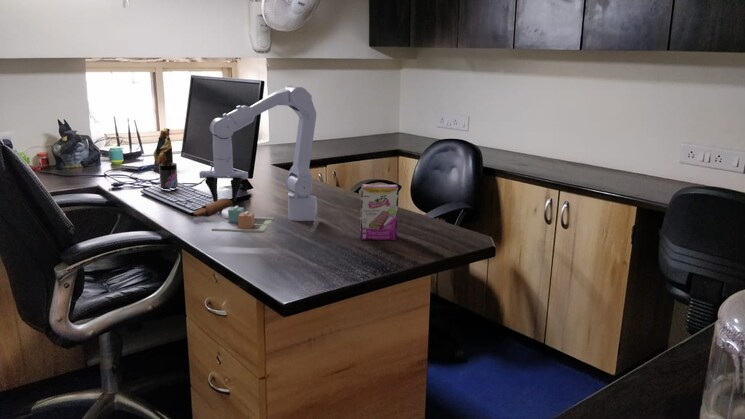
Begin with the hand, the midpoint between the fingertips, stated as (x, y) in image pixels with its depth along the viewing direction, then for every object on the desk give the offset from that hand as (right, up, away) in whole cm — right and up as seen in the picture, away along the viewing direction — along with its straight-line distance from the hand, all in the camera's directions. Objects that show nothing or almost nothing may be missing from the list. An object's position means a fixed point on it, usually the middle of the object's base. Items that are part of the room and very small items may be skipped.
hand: (225, 201), depth 190 cm
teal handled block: (+2, -6, +8) cm, 10 cm away
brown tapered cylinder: (-10, -4, +23) cm, 26 cm away
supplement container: (-36, +5, +57) cm, 68 cm away
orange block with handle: (+6, -8, +2) cm, 10 cm away
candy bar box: (+48, -12, -3) cm, 49 cm away
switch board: (+5, -9, +5) cm, 11 cm away
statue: (-50, +15, +93) cm, 106 cm away
